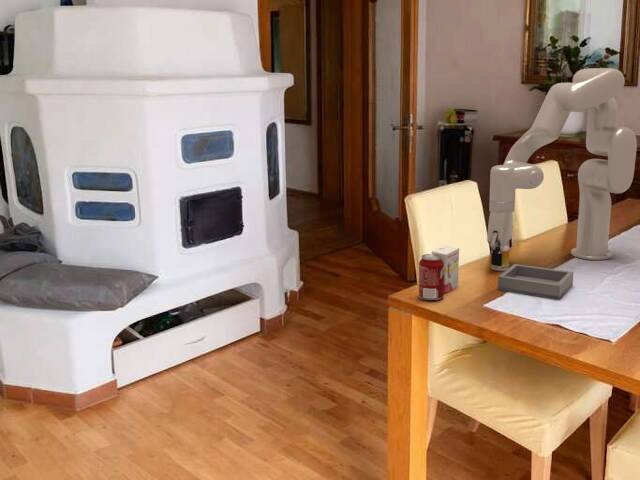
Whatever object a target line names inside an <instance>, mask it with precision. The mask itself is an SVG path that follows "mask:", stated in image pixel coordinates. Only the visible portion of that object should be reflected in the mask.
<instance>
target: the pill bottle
mask: <svg viewBox="0 0 640 480" xmlns="http://www.w3.org/2000/svg"><path fill="white" fill-rule="evenodd" d="M496 243H499V242H498V241H497V242H496ZM496 246H497V247H498V248H499V245H496ZM501 253H502V266H494V265H491V264H490V268H491V269H492V270H493V271H498V272H500V271H501V272H505V271H506V270H507V269H509V268H510V245H509V246H508V245H507V242H505V243H504V244H502V250H501ZM490 255H492V253H490Z"/></svg>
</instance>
